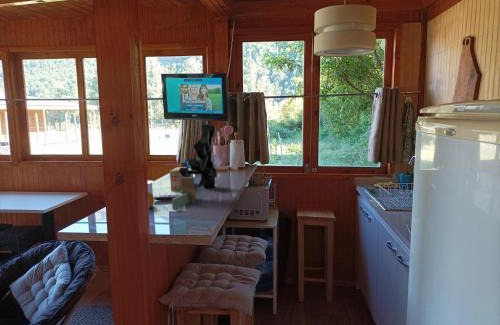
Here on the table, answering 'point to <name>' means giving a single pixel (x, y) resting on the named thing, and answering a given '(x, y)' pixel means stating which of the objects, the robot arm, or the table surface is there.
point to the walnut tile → (188, 187)
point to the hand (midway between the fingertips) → (191, 186)
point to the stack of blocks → (177, 179)
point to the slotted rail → (181, 200)
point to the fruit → (150, 199)
